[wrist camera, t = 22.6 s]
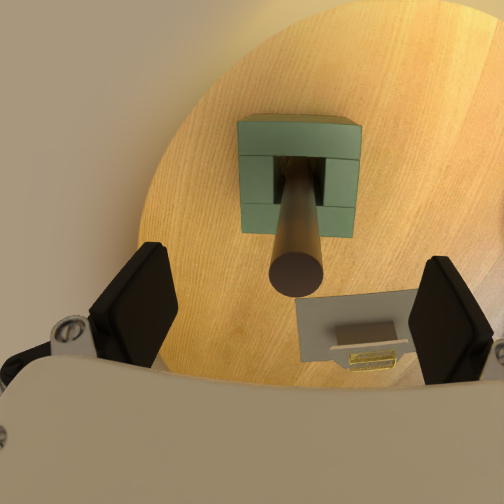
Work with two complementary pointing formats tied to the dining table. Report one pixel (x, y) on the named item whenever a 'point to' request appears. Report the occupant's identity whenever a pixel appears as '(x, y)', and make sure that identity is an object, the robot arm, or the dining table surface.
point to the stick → (297, 235)
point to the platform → (356, 329)
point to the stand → (307, 145)
